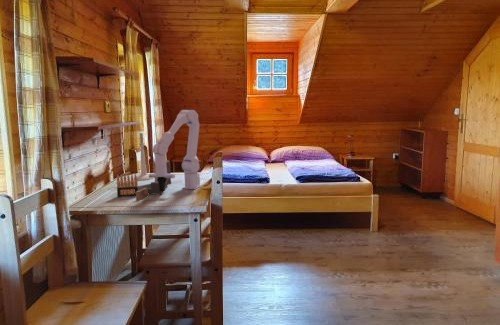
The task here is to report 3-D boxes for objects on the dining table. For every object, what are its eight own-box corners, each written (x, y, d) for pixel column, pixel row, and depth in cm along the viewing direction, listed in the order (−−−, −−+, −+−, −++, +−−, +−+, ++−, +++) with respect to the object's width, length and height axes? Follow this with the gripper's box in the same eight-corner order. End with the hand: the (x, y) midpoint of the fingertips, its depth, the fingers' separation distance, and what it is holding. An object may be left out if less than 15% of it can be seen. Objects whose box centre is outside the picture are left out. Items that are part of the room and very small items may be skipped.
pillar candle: (173, 181, 235) (171, 157, 232) (168, 185, 225) (166, 160, 223) (157, 182, 236) (156, 158, 233) (152, 185, 226) (150, 160, 224)
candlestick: (136, 181, 239) (132, 133, 234) (132, 177, 250) (128, 132, 245) (156, 179, 245) (153, 132, 240) (151, 175, 256) (148, 131, 251)
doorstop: (163, 192, 207) (162, 181, 206) (159, 194, 203) (158, 183, 202) (151, 191, 210) (150, 181, 209) (146, 193, 206) (145, 182, 205)
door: (161, 188, 216) (160, 181, 215) (162, 188, 215) (161, 181, 215) (136, 193, 204) (135, 186, 204) (137, 193, 204) (136, 186, 203)
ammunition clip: (117, 197, 199) (115, 174, 197) (117, 196, 201) (116, 174, 199) (138, 196, 201) (136, 173, 199) (138, 195, 203) (137, 173, 201)
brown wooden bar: (165, 187, 220) (164, 178, 219) (167, 187, 220) (166, 178, 219) (136, 200, 192) (135, 190, 191) (138, 200, 191) (138, 191, 190)
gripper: (144, 167, 201) (146, 192, 203) (169, 167, 197) (171, 193, 199) (151, 164, 208) (153, 189, 210) (176, 165, 204) (177, 190, 206)
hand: (162, 190), depth 205 cm, fingers closed, pressing on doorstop
